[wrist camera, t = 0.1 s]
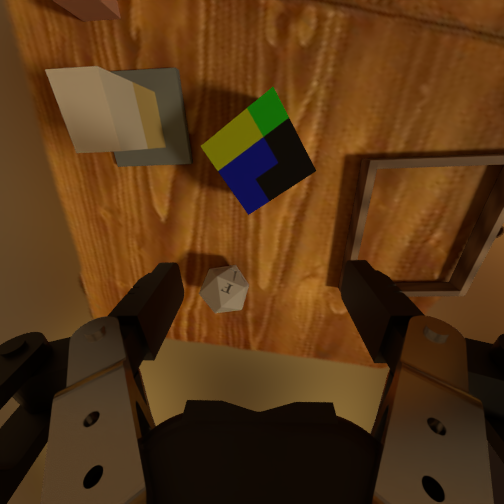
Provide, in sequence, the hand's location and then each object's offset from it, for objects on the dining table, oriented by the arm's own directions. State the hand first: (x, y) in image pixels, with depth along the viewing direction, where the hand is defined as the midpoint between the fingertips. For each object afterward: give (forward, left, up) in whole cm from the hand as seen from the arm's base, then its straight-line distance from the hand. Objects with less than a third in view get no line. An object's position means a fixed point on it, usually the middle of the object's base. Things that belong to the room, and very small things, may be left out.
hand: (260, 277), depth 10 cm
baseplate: (-9, -17, -29) cm, 35 cm away
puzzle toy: (-4, 0, -30) cm, 30 cm away
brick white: (-9, -17, -22) cm, 29 cm away
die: (+19, -7, -29) cm, 36 cm away
